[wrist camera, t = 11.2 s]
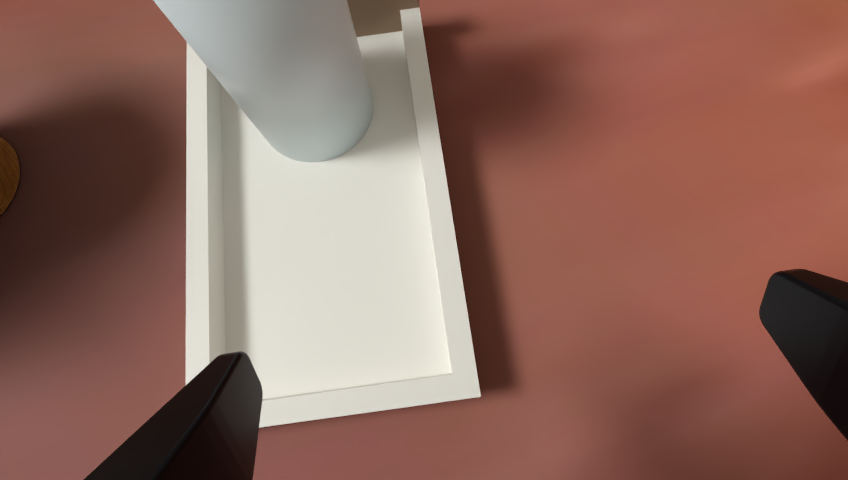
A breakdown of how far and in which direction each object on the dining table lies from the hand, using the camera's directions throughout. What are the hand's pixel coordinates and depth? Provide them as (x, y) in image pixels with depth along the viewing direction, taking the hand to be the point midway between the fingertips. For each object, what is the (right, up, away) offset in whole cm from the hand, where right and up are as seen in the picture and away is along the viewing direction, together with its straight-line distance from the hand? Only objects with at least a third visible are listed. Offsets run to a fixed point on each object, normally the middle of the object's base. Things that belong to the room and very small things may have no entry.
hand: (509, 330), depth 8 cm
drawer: (-6, +3, +15) cm, 17 cm away
